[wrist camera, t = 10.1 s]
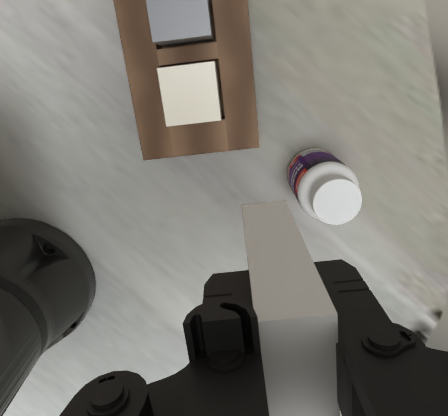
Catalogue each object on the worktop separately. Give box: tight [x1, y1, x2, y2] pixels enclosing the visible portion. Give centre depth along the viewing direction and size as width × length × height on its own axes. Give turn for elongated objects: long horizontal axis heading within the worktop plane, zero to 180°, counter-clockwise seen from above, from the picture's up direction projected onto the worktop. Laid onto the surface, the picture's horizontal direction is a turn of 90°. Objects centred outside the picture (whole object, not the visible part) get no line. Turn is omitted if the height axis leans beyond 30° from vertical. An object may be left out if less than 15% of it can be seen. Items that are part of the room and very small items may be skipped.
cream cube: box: [157, 61, 222, 127], centre depth 33 cm, size 5×5×5 cm
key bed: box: [114, 0, 259, 160], centre depth 33 cm, size 11×24×4 cm, turn 6°
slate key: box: [146, 0, 213, 47], centre depth 31 cm, size 5×5×5 cm
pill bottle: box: [287, 148, 362, 225], centre depth 35 cm, size 5×5×10 cm
